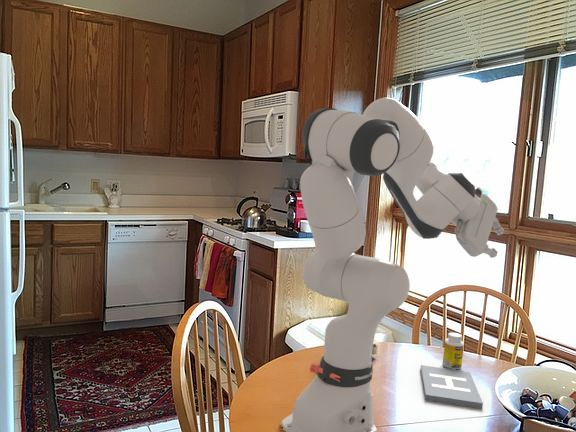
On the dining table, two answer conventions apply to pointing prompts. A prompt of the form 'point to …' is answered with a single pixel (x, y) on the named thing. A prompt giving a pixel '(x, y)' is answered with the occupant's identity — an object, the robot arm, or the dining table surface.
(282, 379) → the dining table surface
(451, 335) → the supplement bottle
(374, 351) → the pale yellow block
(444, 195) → the robot arm
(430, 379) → the gray board
